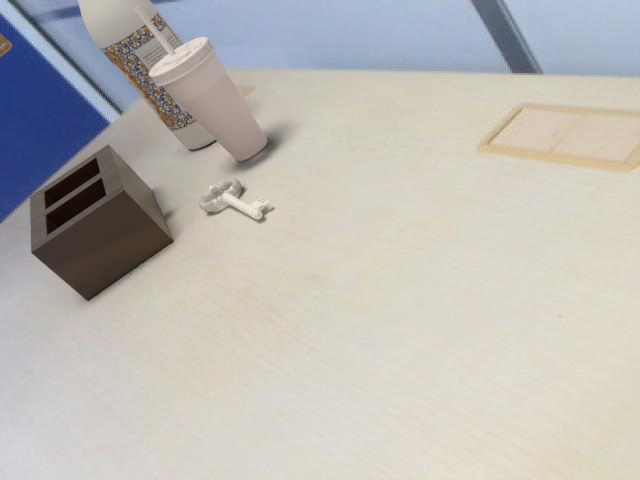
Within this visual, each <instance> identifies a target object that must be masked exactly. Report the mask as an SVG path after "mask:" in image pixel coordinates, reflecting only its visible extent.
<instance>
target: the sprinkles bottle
mask: <svg viewBox="0 0 640 480" xmlns="http://www.w3.org/2000/svg"><path fill="white" fill-rule="evenodd" d="M12 48H13V43H12V42H11V41H10V40H8V39H7V38H6V37H5V36H4V35H3V34H2V33H1V32H0V58H2V57H3V56H4V55H5V54H7V53H8V52H10V51H11V49H12Z"/></svg>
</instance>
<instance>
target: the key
mask: <svg viewBox="0 0 640 480" xmlns="http://www.w3.org/2000/svg"><path fill="white" fill-rule="evenodd" d="M242 187H243V186H242V183H241V182H240V180H239V179H237V178H236V177H229V178H226V179H224V180H221V181H220V182H219V183H215V184H214V185H210V186H209V187H208V190H206V193H204V194H202V196H201V197H200V198H199V201H198V204H199V207H200V209H201V210H202V211H204V212H207V213H212V212H216V211H218V210H220V209H222V208H223V207H226V206H227V205H230V206H231V207H233V208H235V209H237V210H239V211H240V212H243V213H244V214H245V215H248V216H249V217H251V218H252V219H254V220H261V219H262V218H263V212H262V211H263V210H264V208H265V207H269V205H270V204H271V201H269V200H264V199H263V198H262V197H259V198H258V199H255V200H254V201H252V202H251V203H246V202H245V201H243V200H242V199H240V198H238V197H237V196H238V195H239V194H240V192H241V191H242Z"/></svg>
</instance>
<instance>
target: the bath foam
mask: <svg viewBox="0 0 640 480" xmlns="http://www.w3.org/2000/svg"><path fill="white" fill-rule="evenodd" d="M77 4H78V8H79V11H80V15H81V17H82V21H83V23H84V26H85V28H86V30H87V32H88V34H89V35H90V37H91V38H92V40H93V41H94V42H95V44H96V45H97V47H98V48H99V50H100V51H101V52H102V54H104V55H105V57H106V58H107V59H108V60H109V61H110V62H111V63H112V64H113V66H114V67H115V68H116V69H117V70H118V72H119V73H120V74H121V75H122V76H123V78H124V79H125V80H126V81H127V82H128V83H129V84H130V86H131V87H132V88H133V89H134V90H135V92H136V93H137V94H138V95H139V96H140V97H141V98H142V99H143V101H144V102H145V103H146V104H147V105H148V107H149V108H150V109H151V110H152V111H153V112H154V113H155V114H156V116H157V117H158V118H159V120H161V122H162V123H163V124H164V125H165V126H166V128H167V129H168V130H169V131H170V132H171V133H172V134H173V135H174V136H175V137H176V139H177V140H178V141H179V142H180V143H181V144H182V146H183V147H184V148H186V149H187V150H198V149H201V148H204V147H207V146H208V145H210V144H211V143H213V142H215V141H217V140H216V139H215V138H214V137H212V136H211V135H210V134H209V133H208V132H207V131H206V130H205V129H204V128H203V127H202V126H201V125H200V124H199V123H198V122H197V121H196V120H195V119H194V118H193V117H192V116H191V115H190V114H189V113H188V112H187V111H186V110H185V109H184V108H183V107H182V106H181V105H180V104H179V103H178V102H177V101H176V100H175V99H174V98H173V97H172V96H171V95H170V94H169V93H168V92H167V91H166V90H165V89H164V88H163V87H162V86H157V85H156V84H155V82H154V81H153V80H152V79H151V77H150V76H149V72H150V70H151V69H152V68H153V66H154V65H155V64H157V63H158V62H159V61H160V60H161V59H162V58H164V56H166V55H168V54H169V53H168V52H167V51H166V50H165V48H164V47H163V46H162V44H161V43H160V42H159V41H158V39H157V38H156V37H155V36H154V34H153V33H152V32H151V31H150V29H149V28H148V27H147V26H146V24H145V23H144V22H143V21H142V19H141V18H140V17H139V16H138V14H137V13H136V12H135V11H134V8H136V7H137V6H139V7H140V8H141V9H142V10H143V12H144V13H145V14H146V15H147V17H148V18H149V19H150V21H151V22H152V23H153V24H154V26H155V27H156V28H157V29H158V31H159V32H160V33H161V34H162V36H163V37H164V38H165V40H166V41H167V42H168V43H169V45H170V46H171V47H172V48H173V50H175V49H177V48H178V47H180V46H182V45H183V44H185V43H186V42H184V41H183V39H182V38H181V37H180V36H179V34H178V33H177V32H176V30H175V29H174V28H173V26H172V25H171V24H170V23H169V21H168V20H167V19H166V18H165V16H164V15H163V14H162V13H161V11H160V10H159V8H158V7H157V6H156V5H155V4H154V3H153V1H151V0H77Z"/></svg>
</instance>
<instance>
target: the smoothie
mask: <svg viewBox="0 0 640 480" xmlns="http://www.w3.org/2000/svg"><path fill="white" fill-rule="evenodd" d="M134 11H135V12H136V13H137V14H138V16H139V17H140V18H141V19H142V21H143V22H144V23H145V24H146V26H147V27H148V28H149V29H150V31H151V32H152V33H153V34H154V36H155V37H156V38H157V39H158V41H159V42H160V43H161V44H162V46H163V47H164V48H165V50H166V51H167V52H168V53H169V54H168V55H166V56H164V58H162V59H161V60H160V61H159V62H158V63H157V64H155V65H154V66H153V68H152V69H151V70H150V72H149V76H150V77H151V79H152V80H153V81H154V82H155V84H156V85H157V86H162V87H163V88H164V89H165V90H166V91H167V92H168V93H169V94H170V95H171V96H172V97H173V98H174V99H175V100H176V101H177V102H178V103H179V104H180V105H181V106H182V107H183V108H184V109H185V110H186V111H187V112H188V113H189V114H190V115H191V116H192V117H193V118H194V119H195V120H196V121H197V122H198V123H199V124H200V125H201V126H202V127H203V128H204V129H205V130H206V131H207V132H208V133H209V134H210V135H211V136H212V137H214V138H215V139H216V140H215V141H216V142H217V143H218V144H219V145H220V146H221V147H222V148H223V149H224V150H225V151H226V152H227V153H228V154H230V155H231V157H233V158H234V160H235V161H236V162H243V161H246V160H249V159H251V158H253V157H254V156H257V154H259V153H260V152H261V151H262V150H263V149H264V148H265V147H266V146H267V144H268V143H269V140H268V138H267V136H266V135H265V133H264V132H263V130H262V128H261V126H260V125H259V123H258V121H257V120H256V118H255V117H254V114H253V113H252V112H251V110H250V108H249V106H248V105H247V103H246V101H245V100H244V98H243V97H242V95H241V93H240V91H239V89H238V88H237V86H236V85H235V84H234V81H233V80H232V78H231V77H230V75H229V74H228V73H227V71H226V68H225V67H224V65H223V64H222V62H221V60H220V59H219V57H218V56H217V54H216V52H215V51H216V46H215V45H214V44H213V43H212V41H211V40H210V39H209V37H208V36H200V37H197V38H194V39H191V40H189V41H187V42H184V43H185V44H183V45H182V46H180V47H178V48H177V49H175V50H173V48H172V47H171V46H170V45H169V43H168V42H167V41H166V40H165V38H164V37H163V36H162V34H161V33H160V32H159V31H158V29H157V28H156V27H155V26H154V24H153V23H152V22H151V21H150V19H149V18H148V17H147V15H146V14H145V13H144V12H143V10H142V9H141V8H140V7H139V6H137V7H136V8H134Z"/></svg>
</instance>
